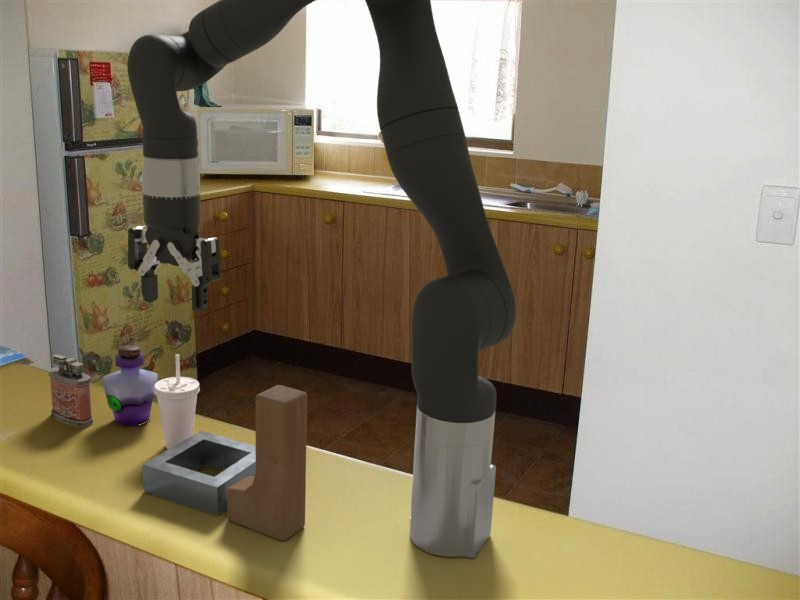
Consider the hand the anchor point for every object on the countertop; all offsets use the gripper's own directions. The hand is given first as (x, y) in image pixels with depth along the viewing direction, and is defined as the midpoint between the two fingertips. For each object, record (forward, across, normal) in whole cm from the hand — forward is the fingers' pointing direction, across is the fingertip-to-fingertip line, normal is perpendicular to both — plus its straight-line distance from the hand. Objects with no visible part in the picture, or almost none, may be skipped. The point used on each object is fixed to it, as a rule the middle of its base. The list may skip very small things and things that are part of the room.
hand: (174, 305), depth 119 cm
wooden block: (+22, -23, +12) cm, 34 cm away
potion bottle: (+22, +12, -4) cm, 25 cm away
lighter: (+22, +20, +1) cm, 30 cm away
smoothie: (+22, 0, 0) cm, 22 cm away
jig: (+21, -11, +7) cm, 25 cm away
